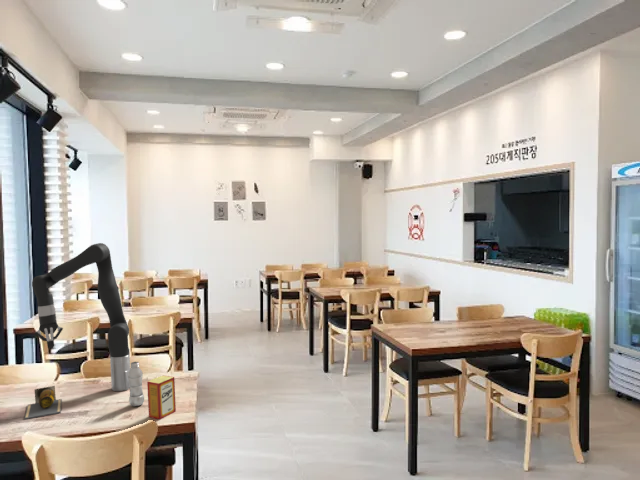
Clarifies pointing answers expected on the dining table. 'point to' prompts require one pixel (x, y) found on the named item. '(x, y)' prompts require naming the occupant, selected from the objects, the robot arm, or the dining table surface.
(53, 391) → the condiment
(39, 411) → the mat
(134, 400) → the plastic bottle
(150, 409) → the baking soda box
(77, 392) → the dining table surface
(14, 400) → the dining table surface
